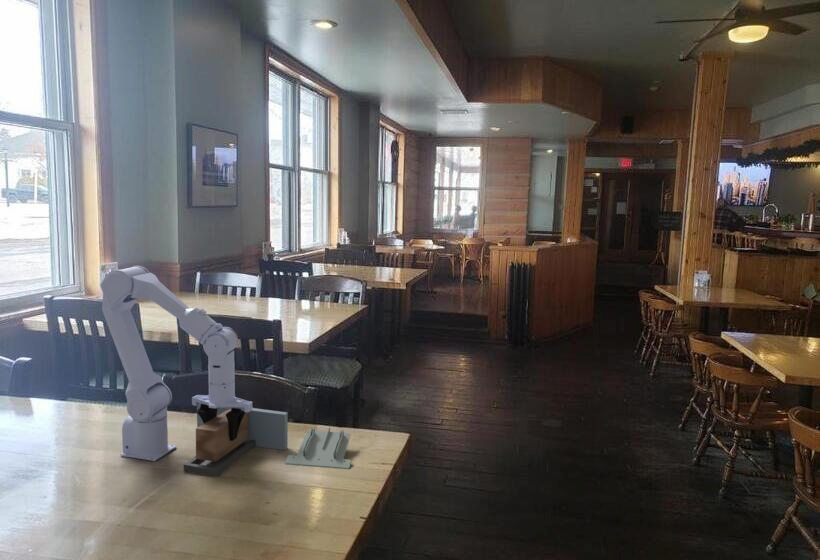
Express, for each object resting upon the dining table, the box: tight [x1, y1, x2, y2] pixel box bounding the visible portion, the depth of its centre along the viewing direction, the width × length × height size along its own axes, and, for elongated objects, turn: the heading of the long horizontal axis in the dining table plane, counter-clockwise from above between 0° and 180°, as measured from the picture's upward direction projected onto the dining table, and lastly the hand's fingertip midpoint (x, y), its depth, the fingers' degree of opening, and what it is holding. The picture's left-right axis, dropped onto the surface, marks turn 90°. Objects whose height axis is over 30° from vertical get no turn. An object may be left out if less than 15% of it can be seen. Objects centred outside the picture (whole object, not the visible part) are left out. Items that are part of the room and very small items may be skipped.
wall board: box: [183, 405, 289, 477], centre depth 134 cm, size 24×18×9 cm
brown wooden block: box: [195, 409, 248, 462], centre depth 134 cm, size 5×14×7 cm, turn 166°
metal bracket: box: [284, 426, 352, 470], centre depth 137 cm, size 14×6×15 cm
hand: (222, 437), depth 134 cm, fingers closed on brown wooden block, 5 cm apart
